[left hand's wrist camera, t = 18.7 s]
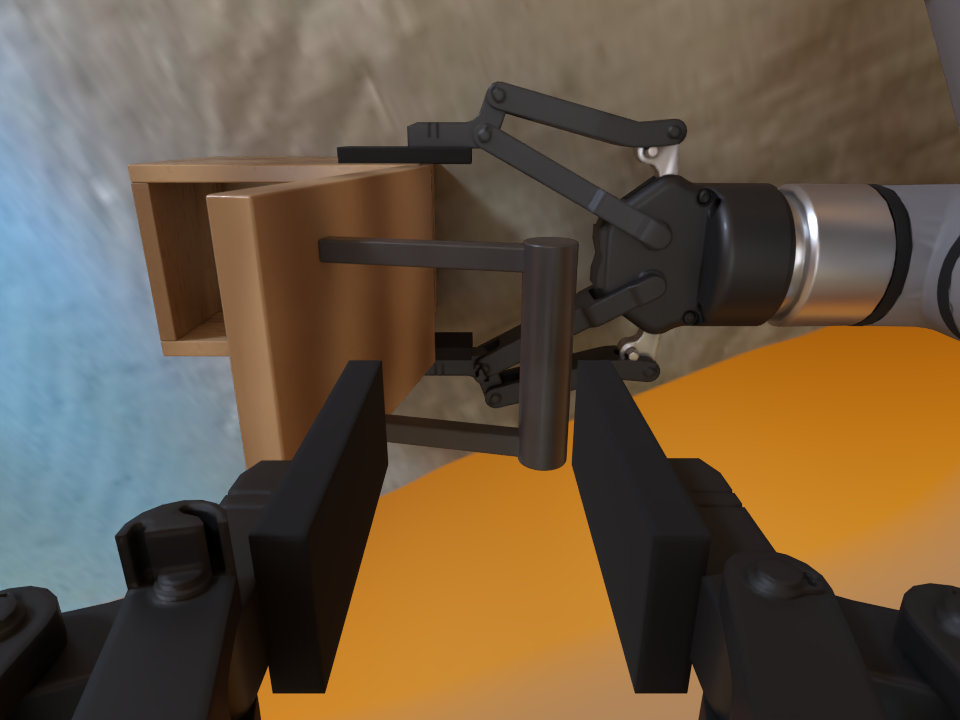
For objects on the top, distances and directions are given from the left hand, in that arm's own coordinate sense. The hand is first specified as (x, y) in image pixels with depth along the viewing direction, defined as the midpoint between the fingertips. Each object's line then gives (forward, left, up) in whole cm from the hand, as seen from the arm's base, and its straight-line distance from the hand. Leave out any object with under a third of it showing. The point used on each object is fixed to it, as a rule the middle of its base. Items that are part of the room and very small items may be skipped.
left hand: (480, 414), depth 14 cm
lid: (-5, 0, -9) cm, 11 cm away
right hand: (-7, 0, -20) cm, 21 cm away
